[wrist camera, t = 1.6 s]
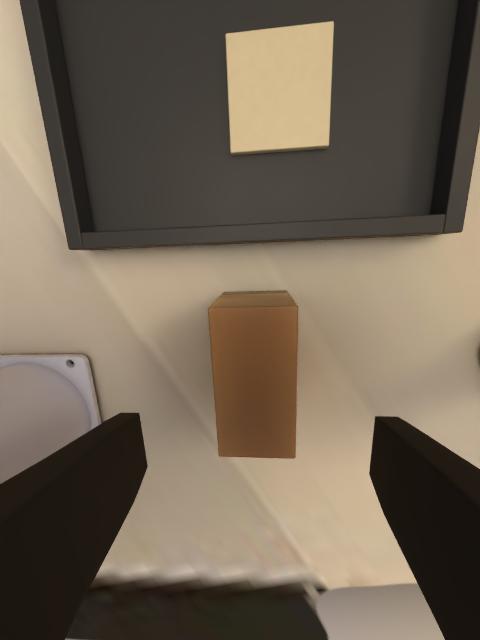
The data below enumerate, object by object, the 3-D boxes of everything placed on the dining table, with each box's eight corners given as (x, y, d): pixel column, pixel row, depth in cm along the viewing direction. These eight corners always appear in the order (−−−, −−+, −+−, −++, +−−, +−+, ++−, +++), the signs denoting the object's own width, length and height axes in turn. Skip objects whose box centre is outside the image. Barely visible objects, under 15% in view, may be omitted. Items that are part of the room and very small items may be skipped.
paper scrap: (231, 156, 12) (230, 152, 12) (226, 40, 11) (225, 32, 11) (327, 148, 12) (329, 145, 12) (331, 28, 11) (334, 20, 10)
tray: (90, 250, 15) (68, 249, 13) (37, -42, 11) (0, -92, 10) (437, 234, 13) (462, 232, 11) (486, -110, 10) (531, -182, 8)
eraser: (229, 404, 16) (218, 457, 12) (223, 292, 15) (207, 307, 10) (286, 404, 16) (295, 459, 12) (287, 290, 14) (298, 305, 10)
